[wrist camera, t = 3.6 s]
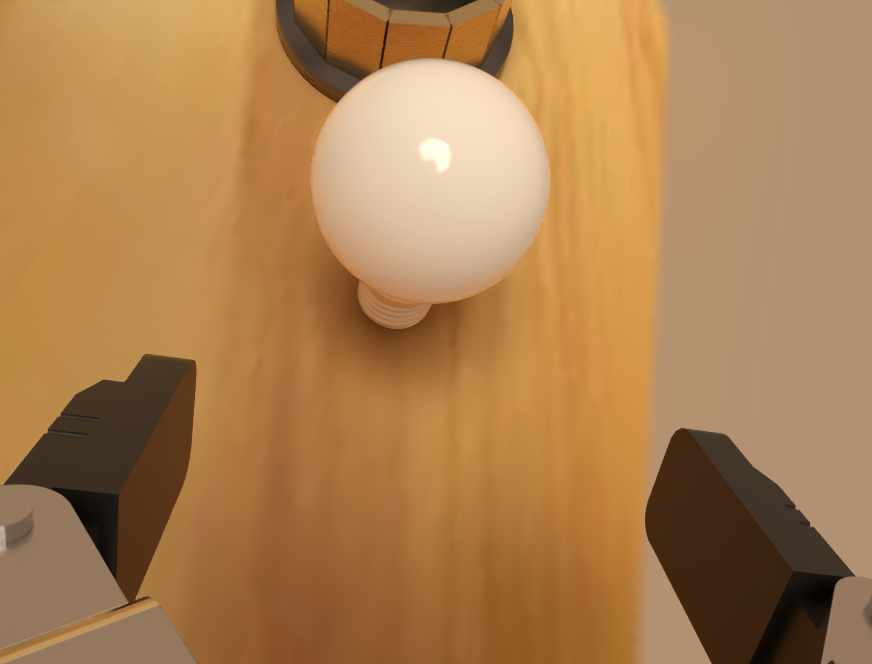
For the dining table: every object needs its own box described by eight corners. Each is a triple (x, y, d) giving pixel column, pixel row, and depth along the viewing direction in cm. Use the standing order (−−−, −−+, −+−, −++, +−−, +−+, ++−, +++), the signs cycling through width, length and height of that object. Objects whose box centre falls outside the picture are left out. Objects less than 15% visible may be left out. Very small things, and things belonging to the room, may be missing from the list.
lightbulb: (408, 197, 28) (472, -34, 18) (511, 323, 27) (640, 149, 17) (269, 279, 26) (255, 66, 16) (374, 420, 25) (432, 284, 15)
